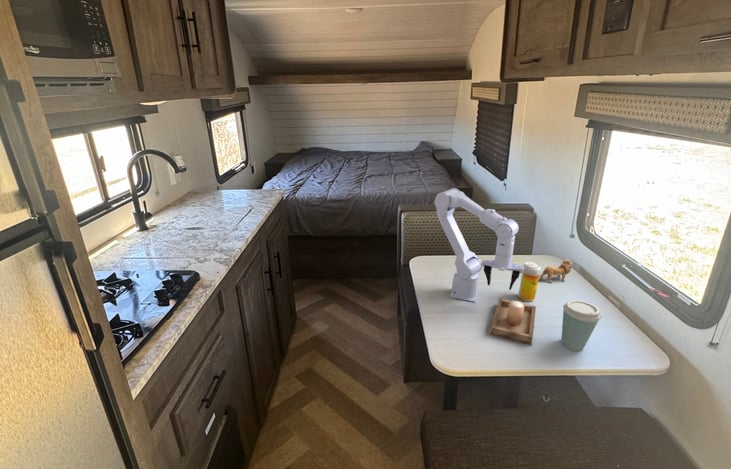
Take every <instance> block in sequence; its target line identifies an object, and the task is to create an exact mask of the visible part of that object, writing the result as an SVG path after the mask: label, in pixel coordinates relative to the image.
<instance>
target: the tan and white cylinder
mask: <svg viewBox="0 0 731 469" xmlns="http://www.w3.org/2000/svg"><path fill="white" fill-rule="evenodd" d="M509 301H510V302H509V307H508V313H507V318H506V321H507V322H508V323H509V324H511V325H514V326H518V325H520V324H521V321H522V316H523V311H524V304H525V303H523V302H521V301H518V300H509Z"/></svg>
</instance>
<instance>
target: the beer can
mask: <svg viewBox="0 0 731 469" xmlns="http://www.w3.org/2000/svg"><path fill="white" fill-rule="evenodd" d="M523 267H524V271H523V274H522V273H521V277H520V285H519V289H518V297H519V299H520V300H522V301H524V302H532V301H534V300H535V299H536V295H537V289H538V284H539V280H540V275H541V274H540V273H541V265H540V264H539V263H538V262H535V261H529V260H527V261H526V262H524V264H523Z"/></svg>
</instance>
